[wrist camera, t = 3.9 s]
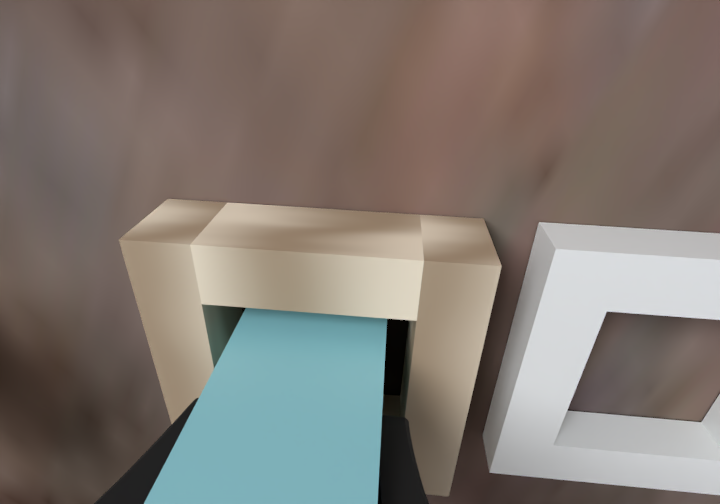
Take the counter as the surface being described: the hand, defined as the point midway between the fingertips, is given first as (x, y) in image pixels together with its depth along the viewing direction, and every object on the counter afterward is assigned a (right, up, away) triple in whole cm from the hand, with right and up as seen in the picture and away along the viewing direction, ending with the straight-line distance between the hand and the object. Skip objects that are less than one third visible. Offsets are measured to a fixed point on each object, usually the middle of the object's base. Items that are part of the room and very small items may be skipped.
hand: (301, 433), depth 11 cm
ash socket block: (0, +2, +3) cm, 4 cm away
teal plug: (0, +2, +3) cm, 3 cm away
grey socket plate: (+11, +1, +3) cm, 11 cm away
